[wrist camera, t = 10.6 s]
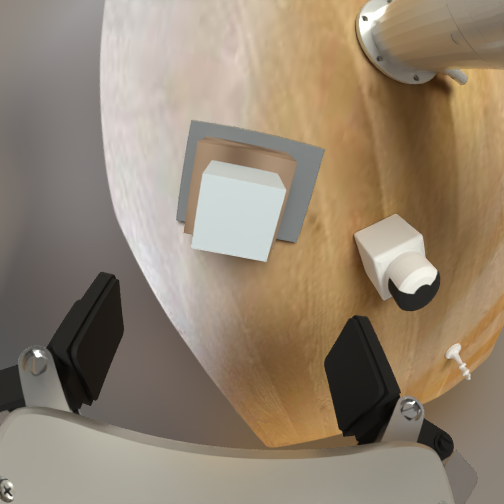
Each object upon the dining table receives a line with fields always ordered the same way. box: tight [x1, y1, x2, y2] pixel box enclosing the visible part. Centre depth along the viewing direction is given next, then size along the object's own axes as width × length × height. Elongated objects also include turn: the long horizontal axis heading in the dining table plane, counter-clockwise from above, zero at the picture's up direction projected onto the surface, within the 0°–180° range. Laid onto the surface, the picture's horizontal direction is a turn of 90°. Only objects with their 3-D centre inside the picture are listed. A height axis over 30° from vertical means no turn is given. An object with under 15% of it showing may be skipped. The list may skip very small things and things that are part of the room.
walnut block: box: [184, 136, 297, 249], centre depth 28 cm, size 9×9×6 cm
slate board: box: [176, 120, 325, 243], centre depth 31 cm, size 15×12×1 cm
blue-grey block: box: [191, 160, 286, 262], centre depth 23 cm, size 6×6×6 cm
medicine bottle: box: [354, 214, 440, 311], centre depth 31 cm, size 7×7×12 cm
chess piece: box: [445, 343, 470, 380], centre depth 46 cm, size 5×5×10 cm
